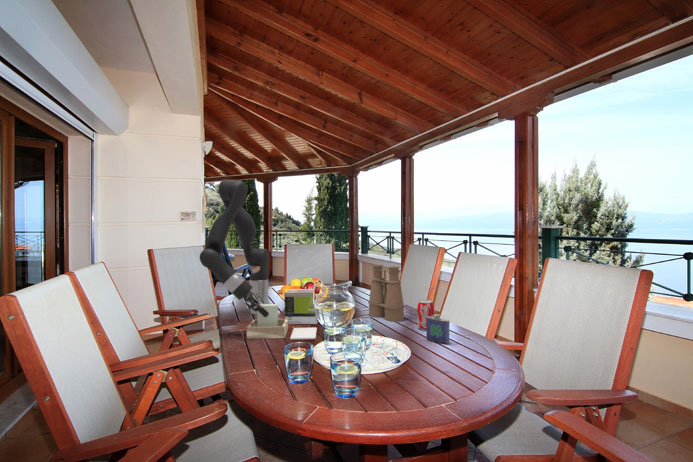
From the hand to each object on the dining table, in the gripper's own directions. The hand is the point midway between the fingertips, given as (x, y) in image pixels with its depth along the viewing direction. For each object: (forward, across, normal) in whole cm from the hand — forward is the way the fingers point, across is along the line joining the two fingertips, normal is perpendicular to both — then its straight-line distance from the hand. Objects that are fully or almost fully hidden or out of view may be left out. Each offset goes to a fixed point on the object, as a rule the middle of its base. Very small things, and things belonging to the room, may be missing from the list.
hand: (268, 314), depth 149 cm
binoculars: (+43, +23, -32) cm, 58 cm away
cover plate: (+6, 0, +6) cm, 8 cm away
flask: (+53, -15, -42) cm, 69 cm away
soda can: (+53, +2, -42) cm, 68 cm away
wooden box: (+6, 0, +6) cm, 8 cm away
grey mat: (+16, -1, -5) cm, 17 cm away
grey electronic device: (+15, +18, -3) cm, 24 cm away
